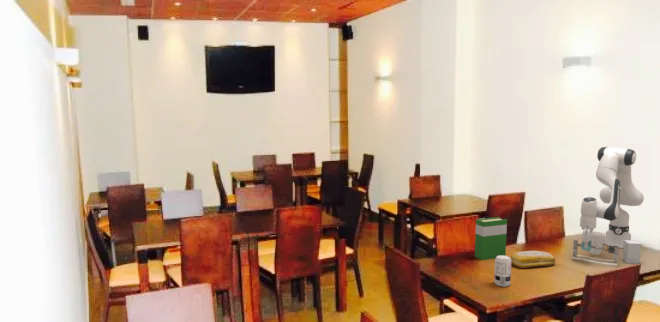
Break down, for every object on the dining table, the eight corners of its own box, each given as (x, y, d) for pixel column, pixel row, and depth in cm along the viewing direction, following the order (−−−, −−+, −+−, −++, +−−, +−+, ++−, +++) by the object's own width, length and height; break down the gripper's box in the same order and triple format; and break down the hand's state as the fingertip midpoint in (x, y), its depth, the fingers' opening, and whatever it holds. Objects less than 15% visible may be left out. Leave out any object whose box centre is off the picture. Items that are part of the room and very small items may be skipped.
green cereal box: (497, 253, 324) (499, 217, 321) (505, 256, 317) (507, 219, 314) (474, 256, 318) (476, 219, 315) (482, 260, 311) (483, 222, 308)
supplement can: (491, 281, 275) (492, 255, 273) (506, 281, 276) (507, 254, 274) (497, 287, 267) (499, 259, 265) (512, 286, 268) (514, 259, 266)
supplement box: (639, 264, 303) (641, 243, 302) (626, 263, 305) (627, 243, 303) (635, 260, 310) (636, 240, 309) (621, 259, 312) (623, 239, 310)
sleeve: (582, 248, 313) (582, 239, 312) (591, 249, 310) (591, 240, 309) (581, 249, 309) (581, 241, 308) (590, 251, 306) (591, 242, 306)
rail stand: (573, 256, 318) (574, 237, 317) (617, 262, 306) (618, 243, 304) (571, 260, 310) (573, 241, 308) (616, 267, 297) (618, 247, 296)
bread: (506, 263, 305) (506, 251, 304) (542, 259, 313) (543, 247, 312) (521, 271, 292) (521, 257, 291) (558, 266, 300) (559, 253, 299)
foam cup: (585, 253, 323) (586, 233, 322) (587, 250, 331) (588, 230, 329) (602, 256, 318) (603, 236, 316) (603, 252, 326) (605, 232, 324)
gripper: (592, 228, 297) (590, 251, 299) (595, 221, 314) (593, 242, 316) (580, 227, 300) (579, 249, 302) (583, 220, 318) (582, 241, 319)
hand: (586, 246), depth 309 cm, fingers closed on sleeve, 4 cm apart
